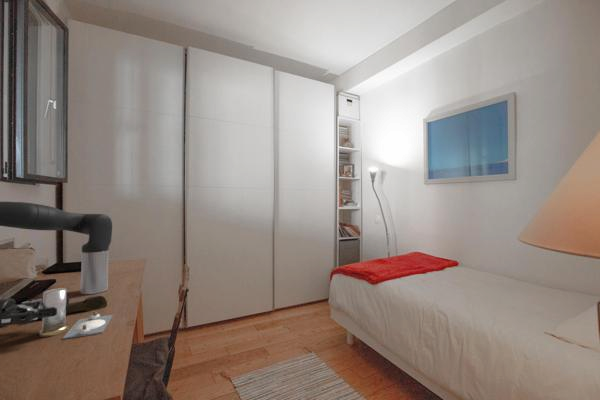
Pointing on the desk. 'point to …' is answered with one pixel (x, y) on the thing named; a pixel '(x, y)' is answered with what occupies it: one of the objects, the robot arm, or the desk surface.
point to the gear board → (89, 326)
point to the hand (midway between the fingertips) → (62, 306)
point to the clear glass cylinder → (57, 322)
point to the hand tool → (85, 305)
